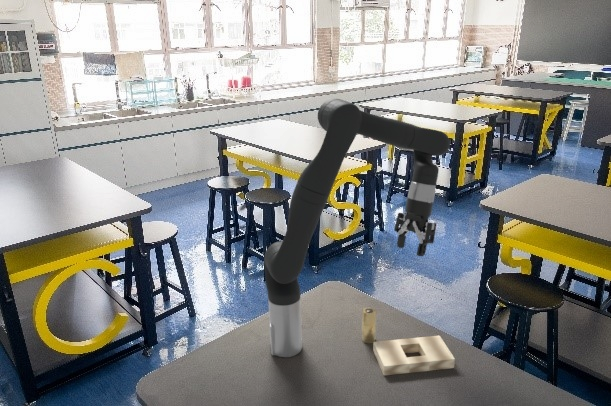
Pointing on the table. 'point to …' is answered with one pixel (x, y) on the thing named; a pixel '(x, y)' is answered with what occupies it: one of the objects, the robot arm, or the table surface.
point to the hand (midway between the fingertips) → (410, 251)
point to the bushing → (368, 325)
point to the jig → (397, 362)
